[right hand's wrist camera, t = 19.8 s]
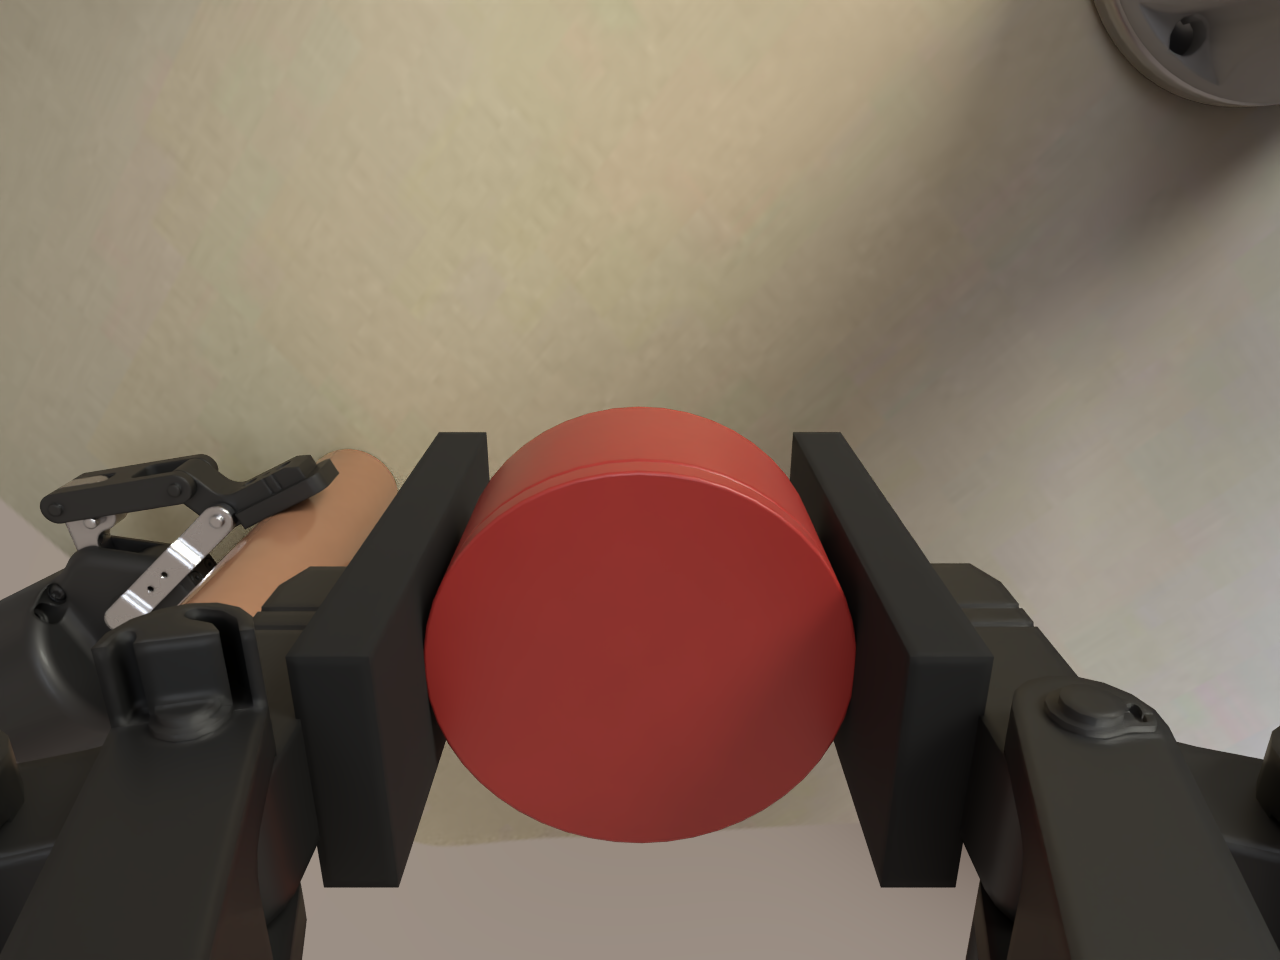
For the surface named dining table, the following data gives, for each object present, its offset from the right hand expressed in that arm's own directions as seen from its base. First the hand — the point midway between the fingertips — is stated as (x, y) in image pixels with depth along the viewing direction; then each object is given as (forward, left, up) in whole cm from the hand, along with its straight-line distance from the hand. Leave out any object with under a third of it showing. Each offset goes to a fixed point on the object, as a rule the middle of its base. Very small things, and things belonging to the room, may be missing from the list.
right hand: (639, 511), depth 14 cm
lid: (0, 0, +4) cm, 4 cm away
